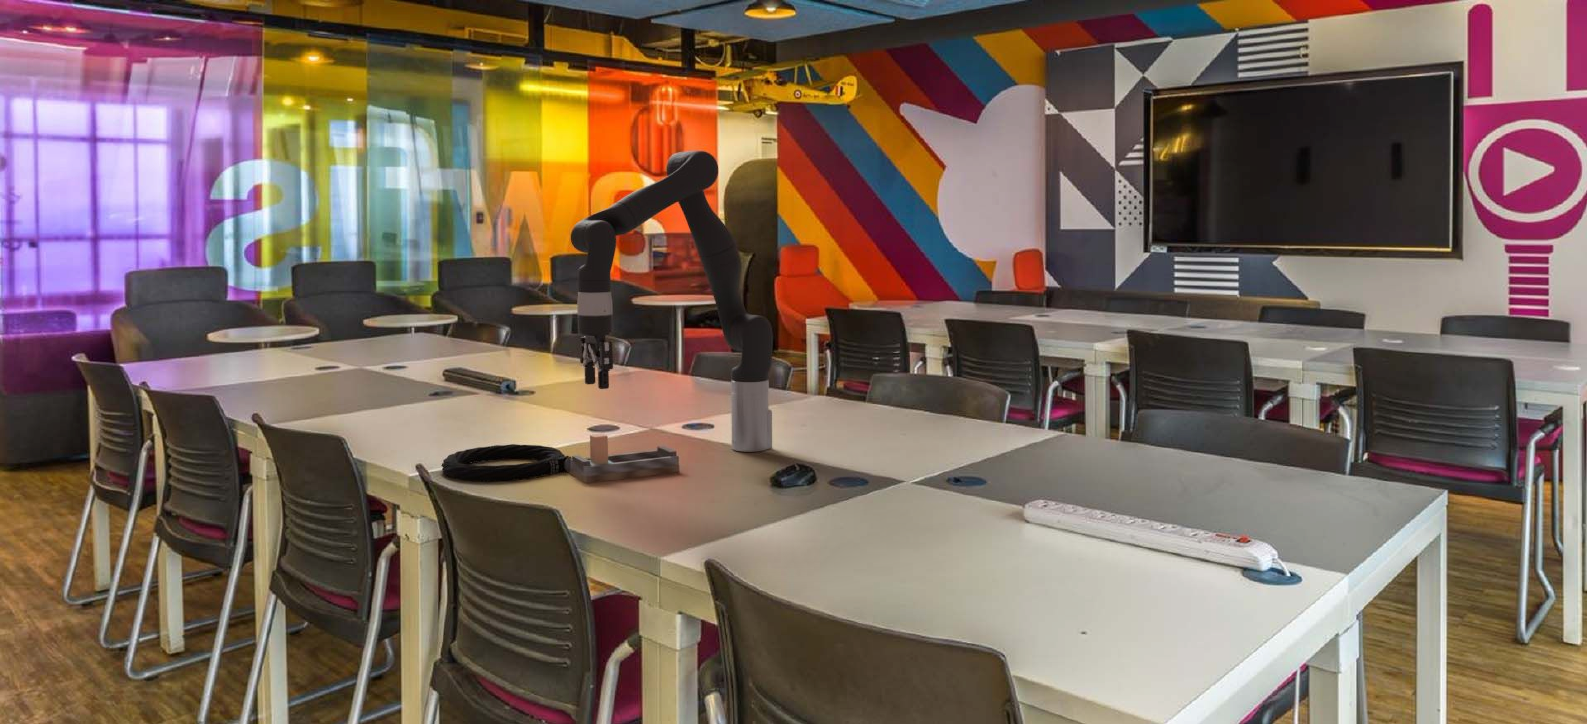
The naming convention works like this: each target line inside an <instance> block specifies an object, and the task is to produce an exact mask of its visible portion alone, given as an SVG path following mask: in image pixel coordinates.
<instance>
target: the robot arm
mask: <svg viewBox="0 0 1587 724" xmlns="http://www.w3.org/2000/svg"><path fill="white" fill-rule="evenodd" d="M665 171H666V177H663V178H662V179H660V180H657V181H655V182H654V183H651V184H649V185H646V186H644V187H641V188H639V189H637V190H635V191H633V192H631V193H629V194H627V195H625V196H624V197H623V198H621V199H620V200H617V201H616V202H615V203H613V204H612V205H611V206H609V207H608V208H605V209H603V210H599V211H598V212H596V213H593V214H591V215H588V216H586V217H585V218H583V219H581V220H580V221H579V222H577V223H576V224H575V225H574V226H573V228H572V230H571V233H570V244H571V245H572V246H573V248H574V249H576V251H579V252H581V253H585V254H587V256H586V262H585V264H583V265H581V266H580V267H579V268H578V269H577V270H578V271H577V289H578V290H577V291H578V292H577V301H576V303H577V333H578V334H579V335H581V337H579V362H580V364H582V367H583V368H584V384H585V385H595V384H596V368H597V385H598V386H597V387H598V389H600V390H607V389H609V387H610V378H609V377H610V373H609V372H610V371H611V370H613V369H614V361H613V360H614V358H613V357H614V356H613V355H614V354H613V342H612V341H607V339H606V338H607V337H606V336H609V335H611V334H613V333H614V327H613V325H614V321H613V320H614V319H613V316H614V315H613V298H612V292H611V291H612V289H611V288H612V287H611V286H612V285H611V283H612V282H611V279H612V278H611V272H612V267H613V263H614V258H615V254H616V249H617V236H623V235H626V234H628V233H631V232H632V231H634V230H635V229H637V228H638V227H639V226H641V225H642V224H644V223H645V222H647V221H648V220H650V219H652V218H654V216H656V215H658V214H659V213H660V212H662V211H664V210H667V208H669V207H671V206H673V205H674V204H676V203H678V204H679V207H680V209H681V211H682V213H683V216H684V218H685V221H686V224H687V226H688V229H689V231H690V233H691V236H692V237H691V238H692V239H693V242H694V245H695V248H696V252H697V254H698V257H699V259H700V262H701V266H702V268H703V271H704V273H705V276H706V279H707V281H708V285H709V287H710V290H711V294H712V296H713V299H714V302H715V305H716V309H717V312H718V317H719V323H720V326H721V330H722V334H723V337H724V339H725V342H726V344H727V345H728V346H729V347H730V348H731V349H733V350H735V351H738V352H741V361H740V362H739V364H738V365H737V366H734V367H732V368H731V371H730V393H731V394H730V396H731V397H730V399H731V400H730V401H731V407H730V408H731V413H730V414H731V416H730V417H731V419H730V420H731V449H732V450H734V451H738V452H743V453H744V452H746V453H747V452H749V453H751V452H754V453H755V452H762V451H767V450H770V449H773V410H772V409H769V407H770V406H769V405H770V402H769V400H770V397H769V394H770V393H769V385H770V384H769V376H770V375H769V374H770V371H771V369H772V364H773V346H774V343H773V341H774V340H773V339H774V338H773V333H774V332H773V329H772V325H771V322H770V320H768V318H766V317H765V316H763V315H759V314H758V315H756V314H748V312H747V310H746V308H745V306H744V303H743V299H742V296H741V292H740V283H741V277H742V260H741V255H740V253H739V249H738V247H737V244H736V240H735V239H734V236H733V234H732V232H731V231H730V230H729V228H728V227H727V226H726V224H725V223H724V222H723V221H722V219H721V218H720V217H719V216H718V215H717V214H716V212H715V211H714V210H713V209H712V208H711V205H710V204H709V202H708V199H707V197H706V195H705V192H704V191H705V190H707V189H709V188H711V187H712V186H713V185H714V183H715V182H716V181H717V179H718V176H719V165H718V161H717V159H716V158H715V156H714V155H712V154H711V153H710V152H707V151H705V150H689V151H686V150H685V151H680V152H676V153H673V154H672V155H671V156H670V157H669V158H668V160H667V162H666V169H665ZM595 366H596V367H595Z"/></svg>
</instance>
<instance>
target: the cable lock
mask: <svg viewBox="0 0 1587 724" xmlns="http://www.w3.org/2000/svg"><path fill="white" fill-rule="evenodd" d="M508 459H509V460H510V459H511V460H512V459H514V460H524V459H525V460H533V461H532V462H523V463H522V462H521V463H518V464H501V465H476V464H475V465H474V464H473V463H481V462H487V461H494V460H498V461H499V460H508ZM570 459H572V456H570V455H565V454H564V453H563V452H562V451H561V450H560V449H557V448H555V447H552V446H551V447H550V446H544V445H536V444H534V445H533V444H515V443H513V444H504V445H503V444H501V445H499V444H498V445H497V444H495V445H490V446H482V447H479V446H477V447H474V448H469V449H465V450H458V451H456V452H454V453H451V454H449V455H448V456H447V457H446V458H444V459H443V461H442V463H441V465H440V466H441V467H442V468H441V470H442V471H443V473H444V474H445V475H446V476H449V477H452V478H453V479H455V480H463V481H469V482H506V481H507V482H509V481H518V480H526V479H533V478H539V477H540V478H541V477H542V476H546V475H549V476H551V475H555V474H558V473H559V474H564V473H570V468H571V463H570ZM534 460H536V461H534Z"/></svg>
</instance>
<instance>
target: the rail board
mask: <svg viewBox="0 0 1587 724" xmlns="http://www.w3.org/2000/svg"><path fill="white" fill-rule="evenodd" d="M656 448H657V449H652V450H642V451H636V452H635V451H634V452H633V451H632V452H624V453H616V454H608V460H609V461H611V462H613V463H608V464H599V465H591V466H590V461H589V460H591V459H590V456H588V457H583V456H581V455H579V454H576V455H572V456H571V458H572V459H570V463H571V468H570V472H569V473H570V476H571V477H574V478H576V479H578V480H579V481H581V482H583V483H584V484H593V483H600V482H608V481H615V480H616V481H618V480H625V479H632V478H642V477H650V476H657V475H665V474H666V475H667V474H674V473H680V457H679V456H678V455H677V450H675V449H671V448H670V447H667V446H664V445H661V446H659V445H658V446H656Z"/></svg>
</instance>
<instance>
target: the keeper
mask: <svg viewBox="0 0 1587 724" xmlns="http://www.w3.org/2000/svg"><path fill="white" fill-rule="evenodd" d="M608 437H609V436H608V435H606V434H604V433H598V434H597V433H596V434H590V435H589V453H590V455H589V457H590V459H591V460H589V461H590V466H591V465H599V464H608V463H613V462H611V461H609V460H608V455H609V441H608V440H609V439H608Z"/></svg>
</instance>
